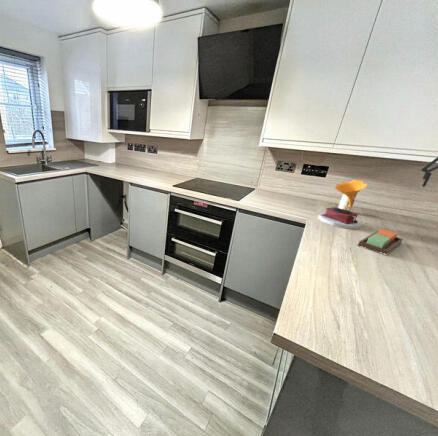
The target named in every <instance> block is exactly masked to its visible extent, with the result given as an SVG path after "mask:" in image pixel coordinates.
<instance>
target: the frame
mask: <svg viewBox="0 0 438 436" xmlns="http://www.w3.org/2000/svg"><path fill="white" fill-rule="evenodd" d="M377 232H379V231H375V232H373V233H371V234H369V235H368V236H366V237H365V238H362V239H360V240H359V242H358V244H357V246H358V245H359V246H358V247H360V246H363V247H366V248H369V249H372V250H375V251H378V252H382V253H385V254H387V253H388V252H389V253H391V252H392V251H393V250H394V249H396V248H397V247H399V246H400V245H401V244H402V242H403V241H404V238H401V237H397V236H396V238H395V240H394V241H393V242H391V243H390V244H388V245H387V246H386V247H384V248H380V247H377V246H374V245H371V244H368V243H366V242H367V240H368V238H369V237H371V236H373V235H374V234H376V233H377ZM396 246H397V247H396ZM363 247H362V248H363ZM395 247H396V248H395ZM366 248H365V249H366ZM369 249H368V250H369ZM392 249H393V250H392ZM372 250H371V251H372ZM391 250H392V251H391ZM375 251H374V252H375ZM378 252H377V253H378ZM389 253H388V254H389ZM388 254H387V255H388Z"/></svg>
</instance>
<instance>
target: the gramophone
mask: <svg viewBox="0 0 438 436" xmlns="http://www.w3.org/2000/svg"><path fill="white" fill-rule="evenodd" d="M367 185H368V183H367V182H366V183H365V182H364V181H363V180H355V179H351V180H350V181H348V182H347V181H345V180H343V181H342V182H341V183H336V185H335V187H334V190H337V192H339V193H341V194H342V195H343V194H345V195H346V196H347V197H348V199H349V203H350V204H349V205H348V207H347V208H346V207H344V209H340V208H338V206H334V207H326V208H325V209H326V211H325V212H321V213H319V214H318V216H317V218H318V220H319V221H321V222H322V223H325V224H328V225H329V226H332V227H337V228H342V229H346V228H347V229H346V230H358V229H361V227H362V224H363V223H362V222H361V221H359V220H357V217H358V216H359V215H360V214H359V213H355V212H352V211H351V210H350V211H349V208H350V207H351V206H352V203H353V198H354V195H355V194H357V195H358V194H359V193H360V191H361V190H363V189H366V187H367ZM353 204H354V203H353ZM352 207H353V206H352ZM346 209H348V210H346Z"/></svg>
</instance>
